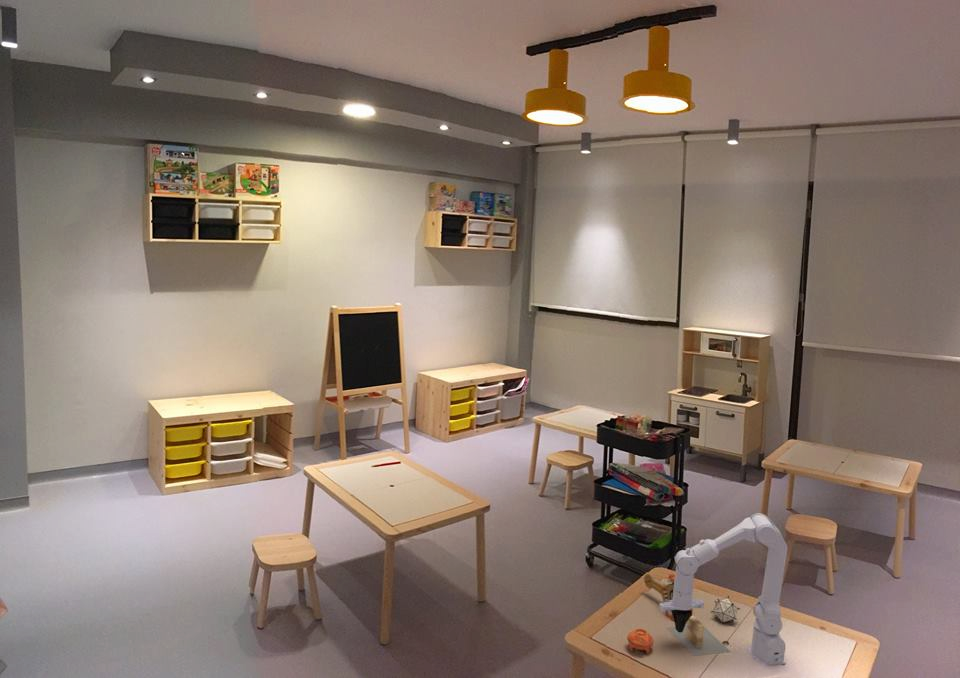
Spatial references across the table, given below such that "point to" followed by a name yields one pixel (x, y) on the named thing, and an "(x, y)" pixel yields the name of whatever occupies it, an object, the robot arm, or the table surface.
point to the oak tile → (695, 631)
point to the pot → (640, 640)
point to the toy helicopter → (662, 589)
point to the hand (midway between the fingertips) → (679, 630)
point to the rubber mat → (709, 645)
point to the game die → (725, 610)
